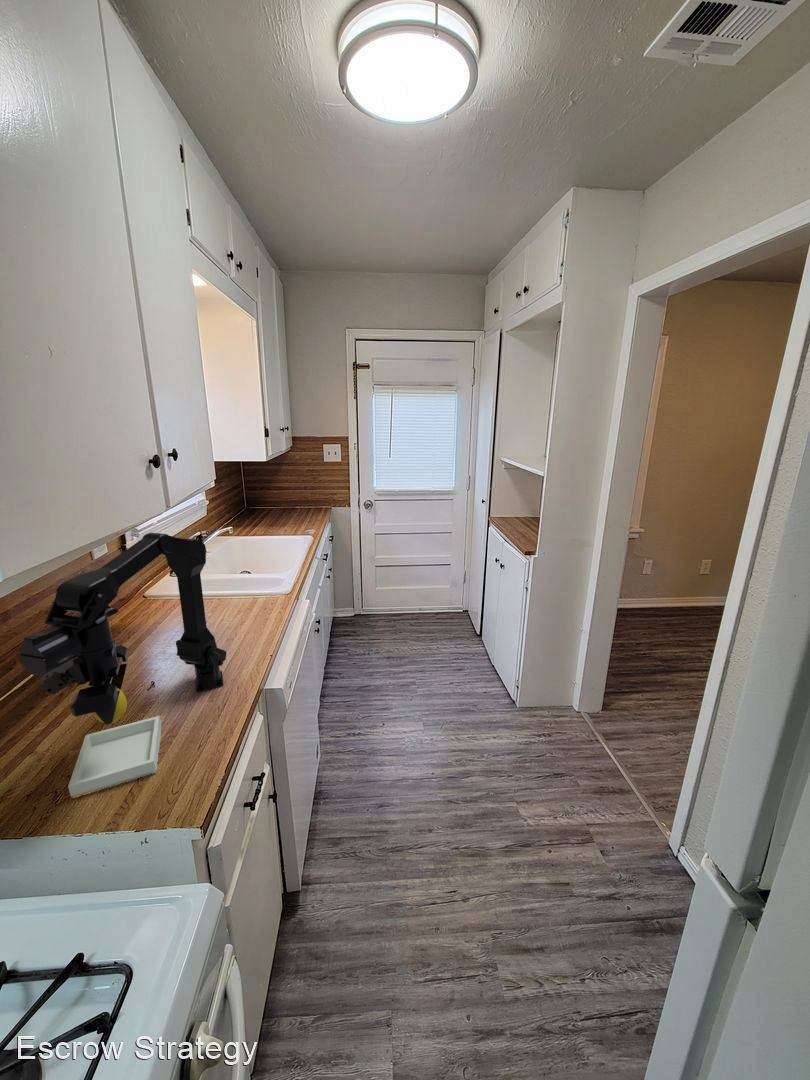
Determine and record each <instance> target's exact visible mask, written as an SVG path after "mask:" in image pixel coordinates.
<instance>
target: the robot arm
mask: <svg viewBox="0 0 810 1080" xmlns="http://www.w3.org/2000/svg"><path fill="white" fill-rule="evenodd" d="M161 555H163V556H165V559H166V562H167V566H168V567H169V568H170V570H171V571H172V572H173V573H174V575H175V576H176V579H177V587H178V594H179V600H180V601H179V602H180V609H181V616H182V622H183V623H182V625H183V633H182V635H181V637H180V639H177V640H176V641H175V646H176V656H178V657H179V659H180V660H181V661H182V662H184V663H185V665H192V666H193V667H194V672H195V673H194V674H195V692H196V693H199V692H203V691H207V690H211V689H216V688H218V687H222V686H223V685H224V677H223V671H222V670H221V669H220V668H221V667H220V666H223V665H224V662H225V661H226V659H227V651H226V650H224V649H221V648H219V647H218V646H217V642H216V639H215V637H214V636H215V635H214V634H212V632H211V631H210V630H209V629H208V626H207V620H206V613H205V612H206V611H205V602H204V594H203V587H202V585H203V584H202V578H201V577H202V576H201V573H202V570H203V569H204V567H205V565H206V563H207V546H206V544H205V543H204V542H203V541H202V540H201V539H197V538H186V537H175V536H172V535H169V534H167V533H160V532H159V533H158V532H149V533H146V534H145V535H143V536H142V538H141V539H140V540H138V541H137V542H135V543H134V544H132V546H129V548H127V549H125V550H123V551H122V552H121V553H120V554H118V555H117V556H115V557H114V558H112V559H111V560H110V561H108V562H107V563H105V564H104V565H102V566H101V567H99V568H97V569H95V570H91V571H88V572H84V573H81V574H78V575H77V576H74V577H72V578H69V579H67V580H66V581H64V582H62V583H61V584H60V585H59V586H58V587H57V588H56V590H55V591H56V594H55V597H54V600H53V602H52V604H51V607H50V608H49V612H48V614H47V616H46V619H45V620H44V624H45V625H46V626H49V627H47V628H45V629H42V630H41V631H38V632H36V633H31V634H30V635H28V636H27V635H26V636H24V638H23V643H24V644H23V645H22V646H21V647H20V648H19V654H18V659H19V662H20V664H21V665H22V667H23V668H24V669H25V670H26V671H27V672H28V673H29V674H31V675H33V676H34V677H35V676H36V677H42V676H43V677H42V678H41V680H40V686H41V692H42V693H47V694H48V695H56V694H58V693H59V692H60V691H62V690H63V689H66V688H67V687H70V686H72V685H73V684H75V683H76V684H77V686H81V685H86V684H87V683H88V687H85V688H80V689H79V690H78V691H77V693H76V694H74V697H73V699H72V702H71V703H70V706H69V707H70V711H71V714H72V715H71V716H73V717H76V718H77V717H79V716H84V715H89V714H93V712H95V713H96V714H97V715H98V716H99V718H100V719H101V720H102V721H103V722H104V723H103V724H104V725H111V724H113V723H112V722H113V718H114V714H115V710H116V706H117V701H118V697H119V693H120V690H121V691H122V686H123V682H124V679H125V674H126V672H127V671H126V670H127V666H128V664H127V662H128V660H129V656H130V654H129V650H128V647H126V646H125V645H122V644H121V645H118V643H117V640H116V639H114V638H113V633H112V630H111V626H110V621H109V618H110V617H112V616H114V615H116V614H117V613H118V612H119V609H118V608H114V607H112V606H110V604H111V603H112V602H113V601H114V600H115V599H116V598H117V596H118V593H119V590H120V588H121V587H122V586H123V585H124V584H125V583H127V582H128V581H129V580H131V578H132V577H134V576H136V574H137V575H138V573H139V572H140V571H141V570H143V569H145V568H146V567H147V566H148V565H149V564H151V563H152V562H154V561H155V560H156V559H157V558H159V557H160V556H161ZM67 612H70V613H78V614H80V615H79V616H74V615H69V614H68V615H67ZM121 659H122V660H121ZM122 662H123V663H122ZM117 688H118V689H120V690H119V691H117Z"/></svg>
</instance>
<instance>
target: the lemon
mask: <svg viewBox="0 0 810 1080" xmlns="http://www.w3.org/2000/svg"><path fill="white" fill-rule="evenodd" d="M119 690H120V689H118V688H117V691H119ZM127 708H128V702H127V697H126V695H125V694H124V692H123V691H122V689H121V690H120V693H119V697H118V701H117V706H116V710H115V714H114V718H113V722H112V723H111V724H115V723H116V722H117V721H119V720H120V719H121V718H122V717H123V716H124V715H125V714H126V711H127ZM92 715H93V716H94V718H95V719H96V720H97V721H98V722H100V723H102V724H104V722H103V721H102V720H101V719H100V718H99V716H98V715H97V714H96V713H95V712H93V713H92Z"/></svg>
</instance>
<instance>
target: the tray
mask: <svg viewBox="0 0 810 1080" xmlns="http://www.w3.org/2000/svg"><path fill="white" fill-rule="evenodd" d="M161 736H162V723H161V716H160V715H158V716H153V717H150V718H145V719H142V720H138V721H134V722H130V723H127V724H124V725H119V726H116V727H111V728H108V729H103V730H100V731H96V732H92V733H88V734H85V736H84V739H83V743H82V744H81V748H80V750H79V754H78V756H77V760H76V762H75V765H74V769H73V772H72V774H71V777H70V781H69V782H68V786H67V787H68V791H69V794H70V798H71V797H72V796H75V795H78V794H82V793H87V792H90V791H94V790H99V789H104V788H107V787H110V786H114V785H116V784H119V783H123V782H126V781H130V780H133V779H136V780H138V779H137V778H140V777H143V776H146V775H149V774H152V775H154V774H153V773H156V770H157V771H158V764H157V762H159V755H158V753H160V746H161V745H160V744H161ZM156 774H157V773H156ZM149 776H150V775H149ZM146 777H147V776H146ZM143 778H144V777H143ZM140 779H141V778H140ZM133 781H134V780H133ZM130 782H131V781H130ZM123 784H124V783H123ZM114 787H115V786H114ZM110 788H111V787H110ZM107 789H108V788H107ZM104 790H105V789H104Z"/></svg>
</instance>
